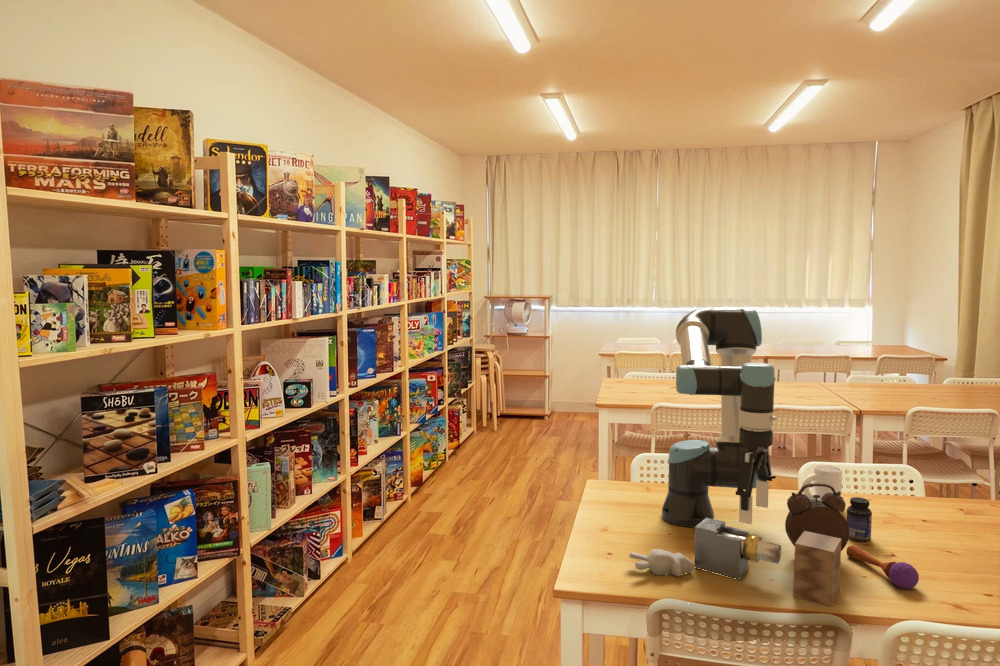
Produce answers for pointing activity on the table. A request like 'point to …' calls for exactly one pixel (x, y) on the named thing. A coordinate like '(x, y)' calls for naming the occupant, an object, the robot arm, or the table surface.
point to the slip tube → (757, 548)
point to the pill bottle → (859, 520)
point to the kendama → (889, 568)
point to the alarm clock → (817, 515)
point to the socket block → (817, 568)
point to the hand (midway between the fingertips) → (753, 514)
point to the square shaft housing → (719, 549)
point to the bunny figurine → (663, 562)
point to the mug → (824, 480)
